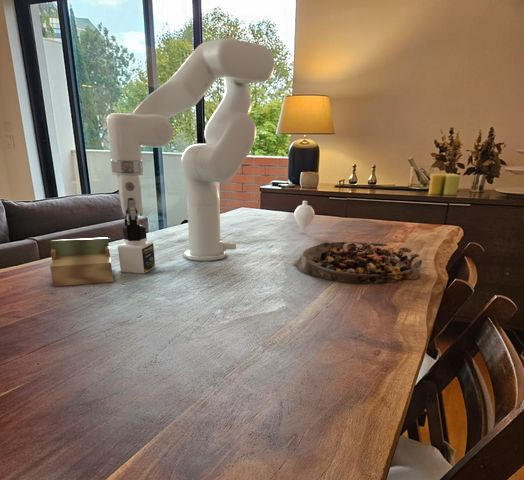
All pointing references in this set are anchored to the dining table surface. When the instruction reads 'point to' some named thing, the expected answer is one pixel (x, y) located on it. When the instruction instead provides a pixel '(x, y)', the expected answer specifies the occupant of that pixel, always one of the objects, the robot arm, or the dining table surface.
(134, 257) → the medicine bottle
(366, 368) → the dining table surface
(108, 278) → the spice rack
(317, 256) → the food dish
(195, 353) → the dining table surface
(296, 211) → the spinning top
